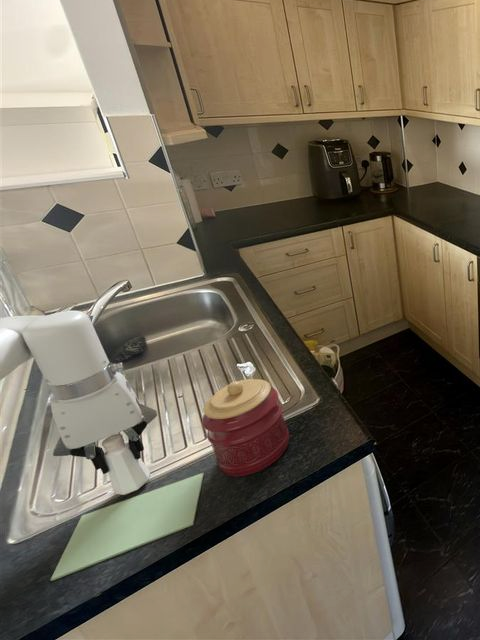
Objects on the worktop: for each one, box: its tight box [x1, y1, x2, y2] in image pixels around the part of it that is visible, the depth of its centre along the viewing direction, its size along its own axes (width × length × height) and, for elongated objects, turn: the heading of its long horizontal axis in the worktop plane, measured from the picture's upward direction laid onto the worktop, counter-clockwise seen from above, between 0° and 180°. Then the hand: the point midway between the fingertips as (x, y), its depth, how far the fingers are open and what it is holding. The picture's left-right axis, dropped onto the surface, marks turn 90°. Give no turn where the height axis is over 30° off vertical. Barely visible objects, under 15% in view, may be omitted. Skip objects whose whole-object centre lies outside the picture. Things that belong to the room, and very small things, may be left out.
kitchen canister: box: [201, 378, 290, 478], centre depth 82 cm, size 13×13×18 cm
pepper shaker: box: [101, 433, 151, 496], centre depth 76 cm, size 5×5×11 cm
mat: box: [50, 472, 205, 582], centre depth 71 cm, size 18×12×1 cm, turn 119°
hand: (122, 460), depth 76 cm, fingers closed on pepper shaker, 3 cm apart
